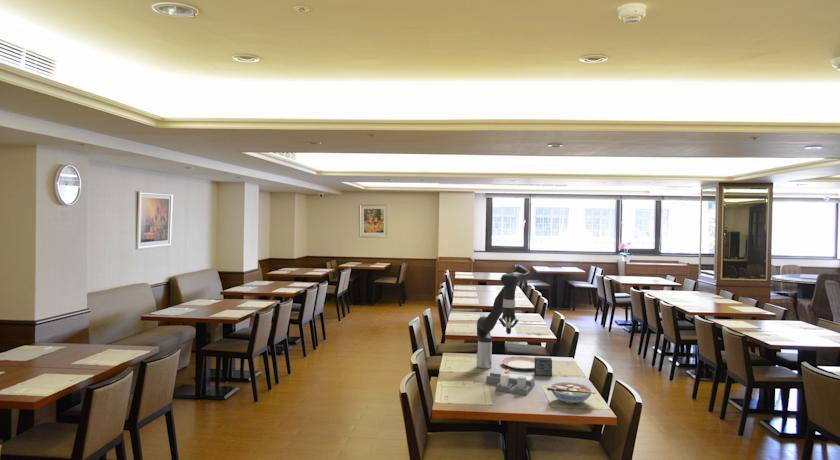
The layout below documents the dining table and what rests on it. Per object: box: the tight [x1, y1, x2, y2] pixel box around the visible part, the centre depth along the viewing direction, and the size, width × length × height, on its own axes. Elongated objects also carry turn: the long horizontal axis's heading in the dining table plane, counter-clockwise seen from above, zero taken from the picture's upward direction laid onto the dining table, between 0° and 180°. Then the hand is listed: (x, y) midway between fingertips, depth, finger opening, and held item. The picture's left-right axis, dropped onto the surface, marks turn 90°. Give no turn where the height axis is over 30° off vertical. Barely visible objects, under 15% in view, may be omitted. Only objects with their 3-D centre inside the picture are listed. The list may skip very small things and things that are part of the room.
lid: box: [504, 368, 534, 382], centre depth 321 cm, size 16×8×4 cm, turn 66°
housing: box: [485, 372, 535, 396], centre depth 318 cm, size 27×20×8 cm
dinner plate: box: [501, 355, 535, 371], centre depth 364 cm, size 28×27×3 cm
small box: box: [533, 356, 553, 377], centre depth 344 cm, size 11×6×10 cm, turn 84°
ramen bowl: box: [546, 381, 597, 404], centre depth 293 cm, size 25×23×8 cm
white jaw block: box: [500, 373, 509, 387], centre depth 313 cm, size 4×4×7 cm
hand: (508, 333), depth 338 cm, fingers closed
